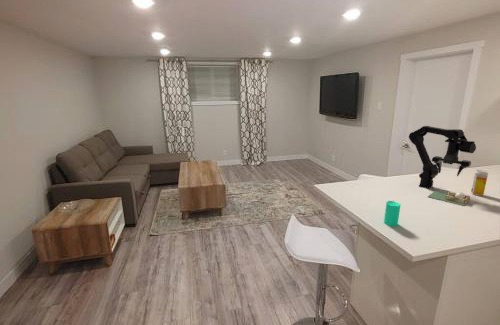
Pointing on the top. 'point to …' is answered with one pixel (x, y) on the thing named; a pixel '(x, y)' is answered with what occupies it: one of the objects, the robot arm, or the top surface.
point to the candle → (392, 213)
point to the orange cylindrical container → (479, 182)
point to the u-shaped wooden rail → (452, 198)
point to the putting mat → (443, 197)
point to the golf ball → (460, 195)
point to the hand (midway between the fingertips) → (448, 174)
